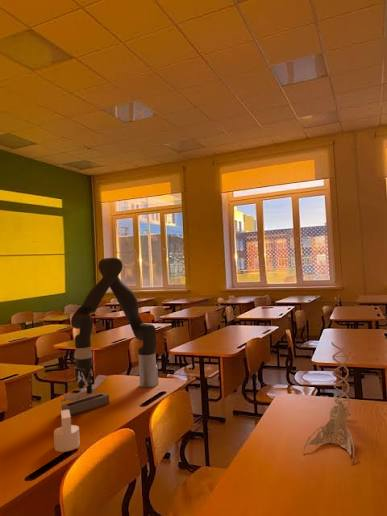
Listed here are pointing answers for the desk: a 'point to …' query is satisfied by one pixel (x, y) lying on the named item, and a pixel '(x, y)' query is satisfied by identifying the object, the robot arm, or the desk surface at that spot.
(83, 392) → the mobile phone
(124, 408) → the desk surface
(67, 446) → the cylinder with rectangular tab
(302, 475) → the desk surface
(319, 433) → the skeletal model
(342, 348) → the dna model
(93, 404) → the pen tray
